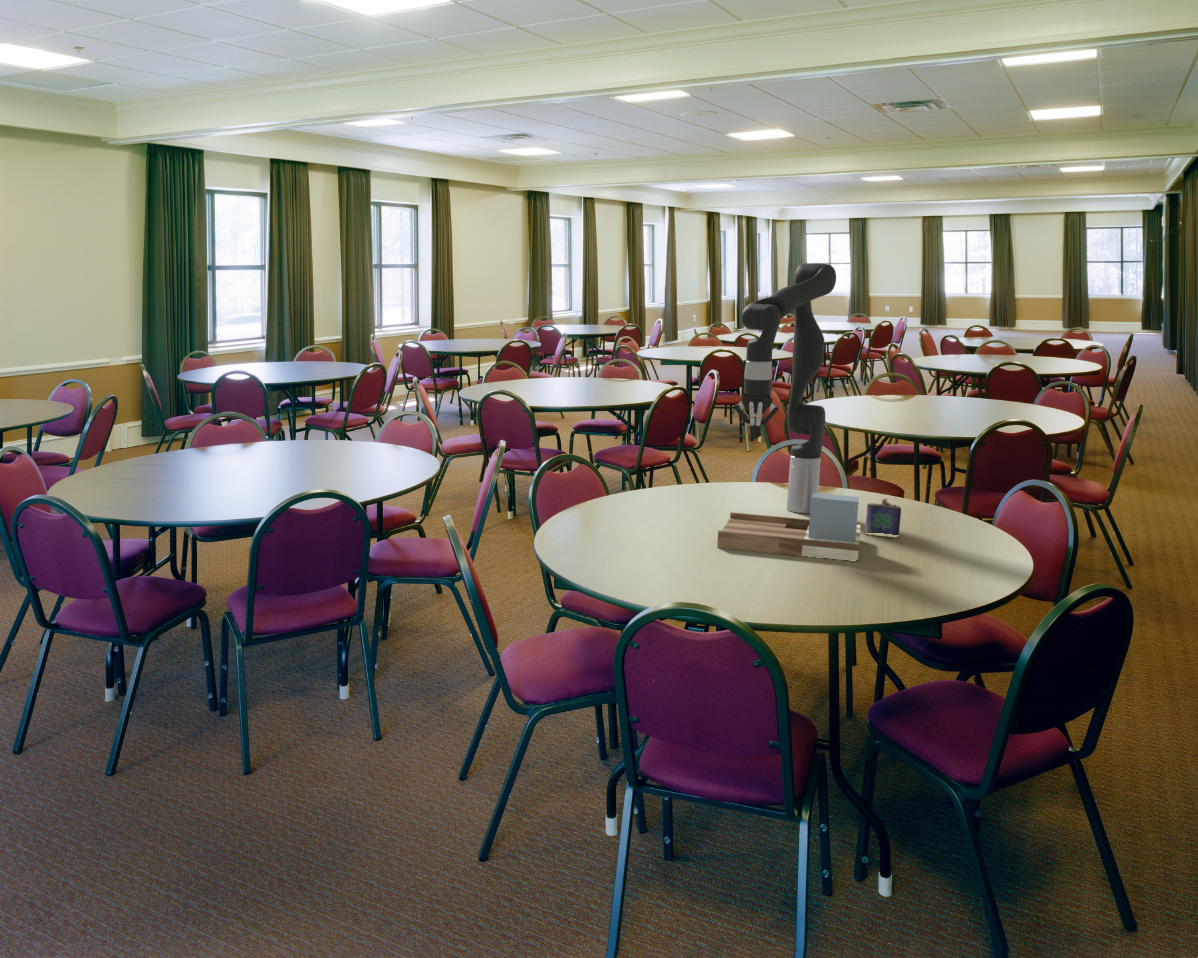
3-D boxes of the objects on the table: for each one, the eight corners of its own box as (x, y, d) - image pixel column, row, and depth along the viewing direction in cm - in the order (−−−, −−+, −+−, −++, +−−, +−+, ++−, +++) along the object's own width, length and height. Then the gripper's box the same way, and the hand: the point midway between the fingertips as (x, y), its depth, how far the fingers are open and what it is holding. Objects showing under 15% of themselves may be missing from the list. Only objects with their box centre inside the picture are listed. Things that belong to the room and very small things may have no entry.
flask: (864, 534, 252) (867, 498, 250) (865, 532, 255) (869, 496, 253) (898, 539, 249) (901, 502, 246) (899, 536, 251) (903, 499, 249)
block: (809, 532, 242) (812, 492, 240) (855, 536, 239) (858, 496, 236) (808, 537, 237) (811, 497, 234) (854, 542, 233) (858, 501, 231)
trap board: (730, 527, 257) (730, 512, 256) (859, 539, 247) (860, 524, 246) (717, 547, 236) (718, 531, 235) (857, 562, 226) (859, 545, 225)
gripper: (783, 376, 249) (780, 437, 253) (736, 374, 253) (734, 434, 257) (780, 379, 242) (777, 442, 246) (732, 377, 246) (729, 439, 250)
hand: (755, 438), depth 251 cm, fingers closed
